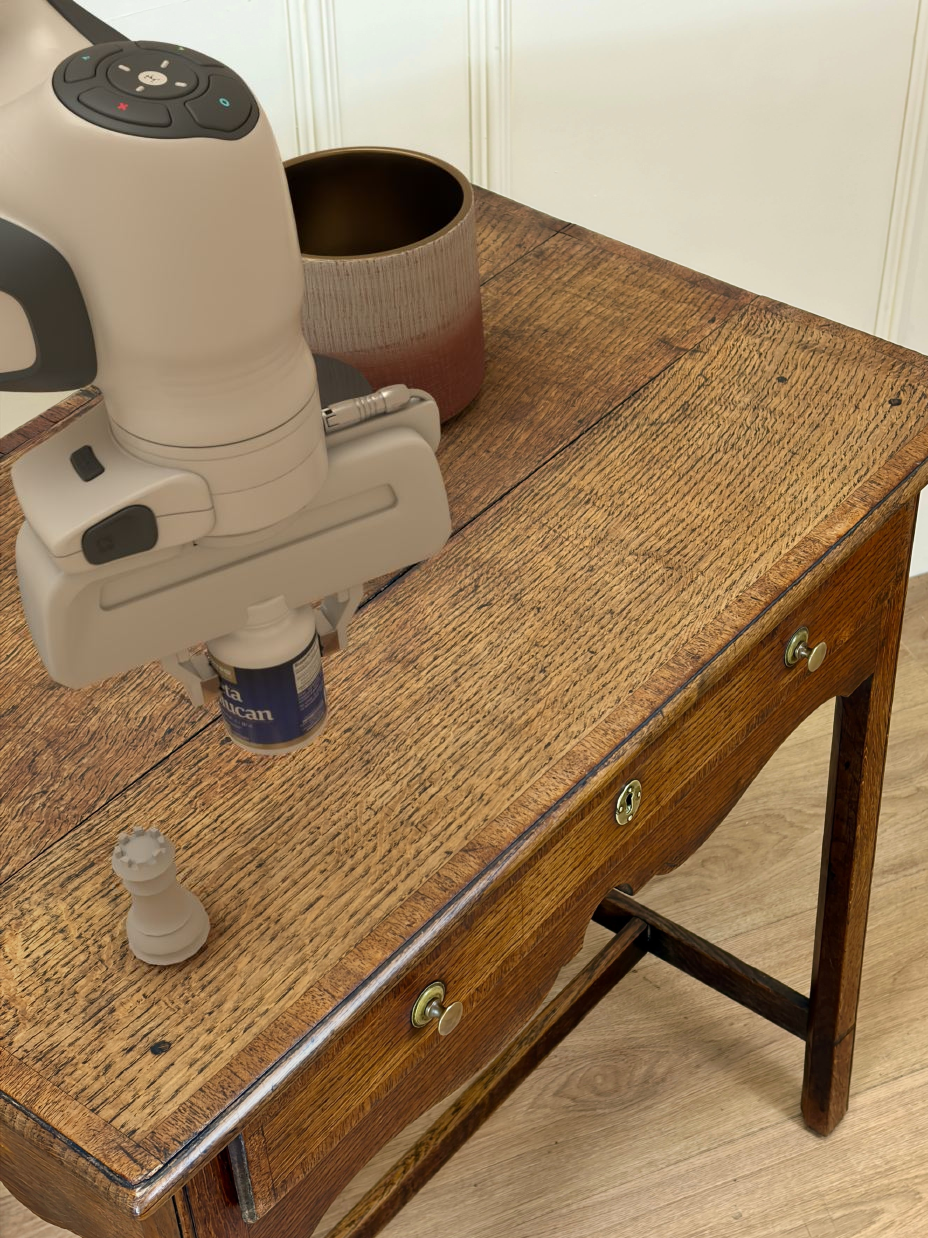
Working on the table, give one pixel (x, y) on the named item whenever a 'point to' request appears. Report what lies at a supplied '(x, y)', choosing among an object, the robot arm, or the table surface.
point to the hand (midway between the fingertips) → (266, 670)
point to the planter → (391, 269)
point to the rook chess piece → (158, 900)
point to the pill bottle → (271, 679)
